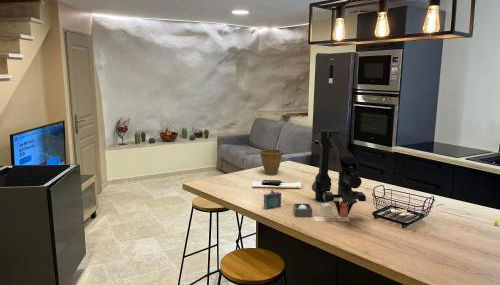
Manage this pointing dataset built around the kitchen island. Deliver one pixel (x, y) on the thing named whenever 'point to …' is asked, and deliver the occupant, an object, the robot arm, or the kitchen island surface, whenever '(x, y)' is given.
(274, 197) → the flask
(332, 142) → the robot arm
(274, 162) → the plant pot
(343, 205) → the pawn
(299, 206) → the dome
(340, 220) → the board
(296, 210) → the button housing
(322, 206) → the beige cube
